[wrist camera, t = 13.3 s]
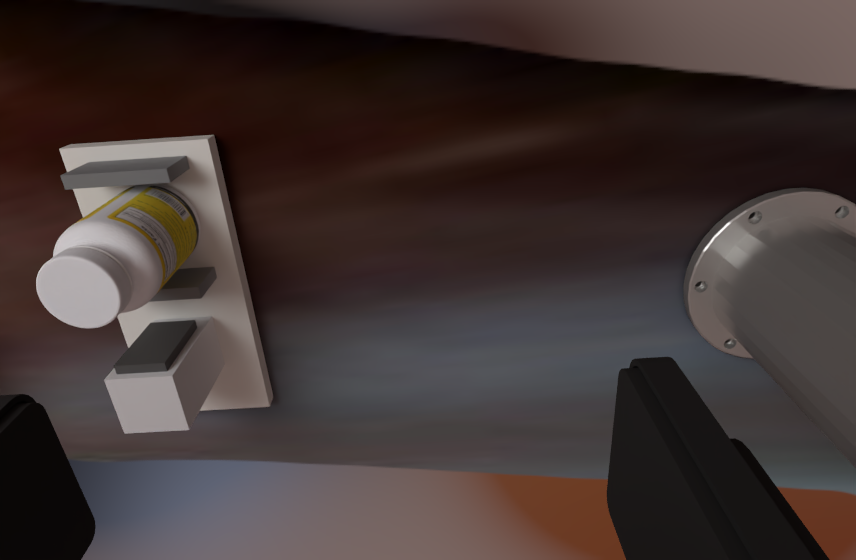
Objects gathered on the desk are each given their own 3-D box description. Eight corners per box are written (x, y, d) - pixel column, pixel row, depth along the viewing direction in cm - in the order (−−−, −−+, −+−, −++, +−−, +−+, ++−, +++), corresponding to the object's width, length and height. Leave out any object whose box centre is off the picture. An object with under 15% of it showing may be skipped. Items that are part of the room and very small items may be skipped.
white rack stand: (214, 134, 35) (158, 170, 28) (273, 396, 44) (243, 476, 36) (70, 144, 35) (-24, 181, 28) (157, 403, 44) (104, 483, 37)
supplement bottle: (127, 261, 37) (36, 340, 29) (107, 180, 35) (2, 240, 26) (209, 261, 37) (145, 341, 29) (195, 181, 35) (120, 241, 26)
